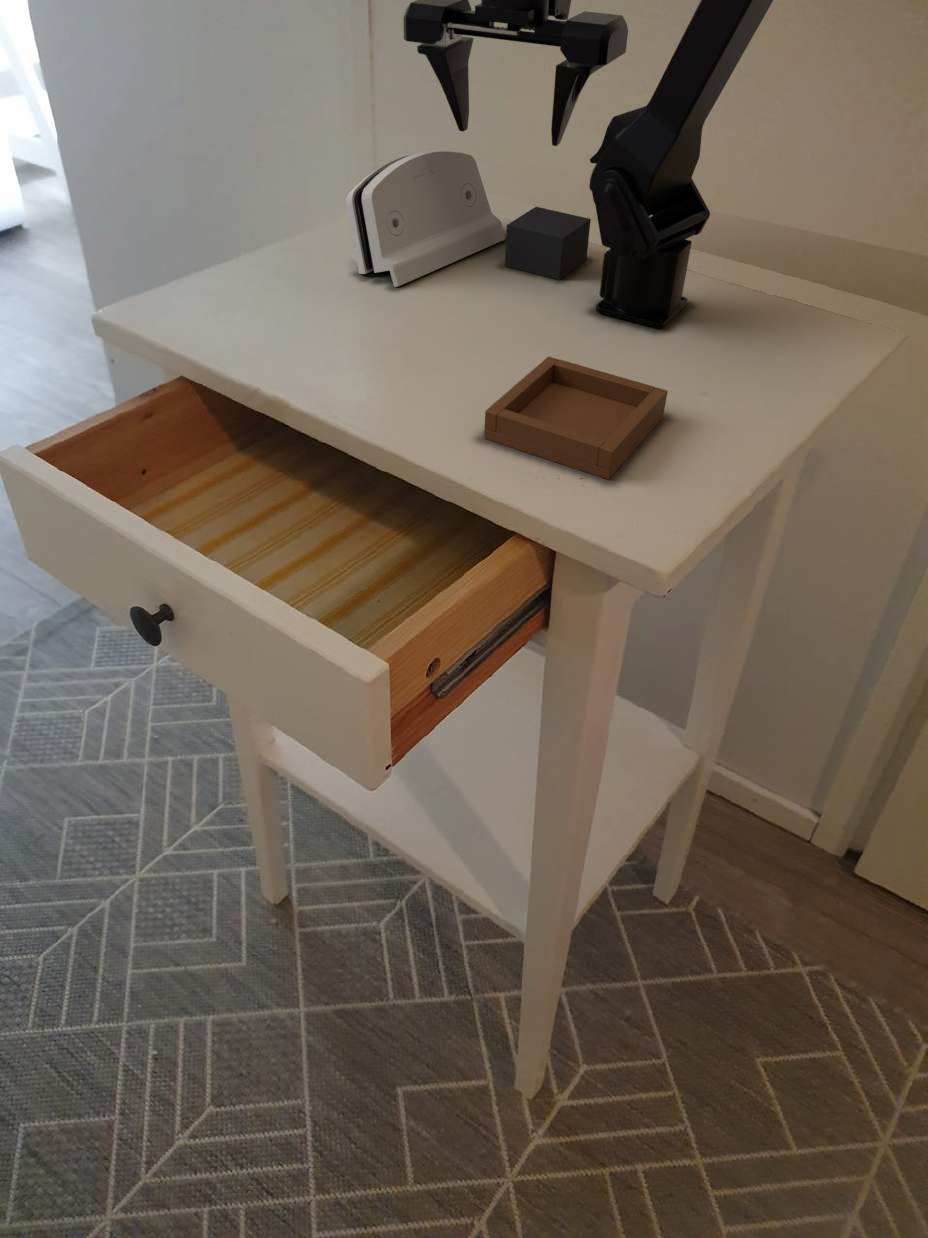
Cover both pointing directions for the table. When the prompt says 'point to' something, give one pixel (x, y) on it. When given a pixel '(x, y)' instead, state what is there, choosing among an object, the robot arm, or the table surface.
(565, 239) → the black block
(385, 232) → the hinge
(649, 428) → the shallow brown tray
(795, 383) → the table surface
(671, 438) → the table surface
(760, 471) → the table surface
